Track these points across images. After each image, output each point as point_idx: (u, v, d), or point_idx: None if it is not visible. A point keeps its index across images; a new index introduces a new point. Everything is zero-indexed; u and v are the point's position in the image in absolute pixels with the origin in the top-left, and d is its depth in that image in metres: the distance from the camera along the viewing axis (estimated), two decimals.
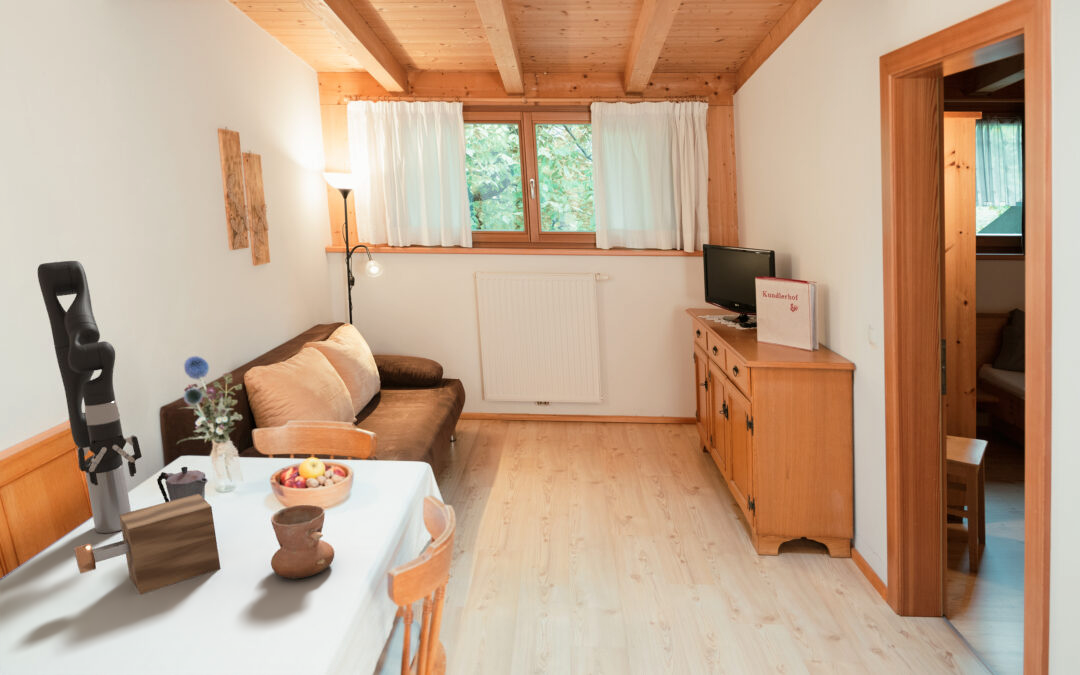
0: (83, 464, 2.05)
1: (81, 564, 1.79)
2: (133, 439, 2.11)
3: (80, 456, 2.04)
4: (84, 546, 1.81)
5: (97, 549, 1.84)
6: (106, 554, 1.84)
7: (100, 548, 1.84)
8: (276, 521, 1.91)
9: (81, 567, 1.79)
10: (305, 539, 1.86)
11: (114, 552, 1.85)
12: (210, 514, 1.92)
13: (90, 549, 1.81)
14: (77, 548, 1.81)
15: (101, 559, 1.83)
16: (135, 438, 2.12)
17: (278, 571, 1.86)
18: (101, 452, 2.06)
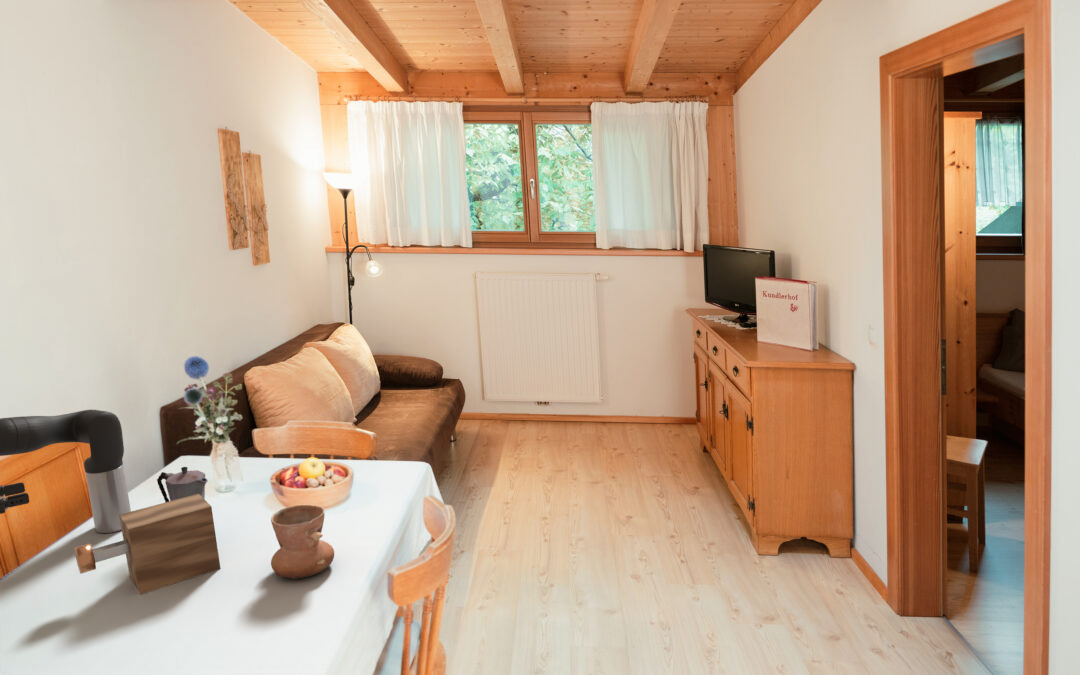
0: None
1: (81, 564, 1.79)
2: None
3: None
4: (84, 546, 1.81)
5: (97, 549, 1.84)
6: (106, 554, 1.84)
7: (100, 548, 1.84)
8: (276, 521, 1.91)
9: (81, 567, 1.79)
10: (305, 539, 1.86)
11: (114, 552, 1.85)
12: (210, 514, 1.92)
13: (90, 549, 1.81)
14: (77, 548, 1.81)
15: (101, 559, 1.83)
16: None
17: (278, 571, 1.86)
18: None
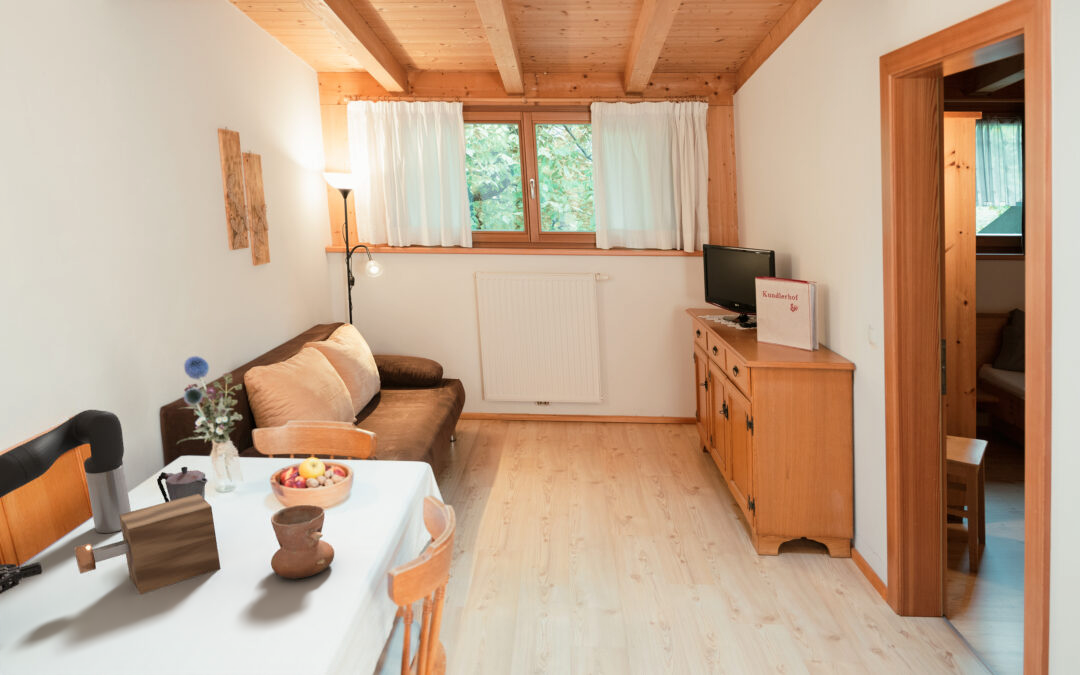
0: None
1: (81, 564, 1.79)
2: None
3: None
4: (84, 546, 1.81)
5: (97, 549, 1.84)
6: (106, 554, 1.84)
7: (100, 548, 1.84)
8: (276, 521, 1.91)
9: (81, 567, 1.79)
10: (305, 539, 1.86)
11: (114, 552, 1.85)
12: (210, 514, 1.92)
13: (90, 549, 1.81)
14: (77, 548, 1.81)
15: (101, 559, 1.83)
16: None
17: (278, 571, 1.86)
18: None
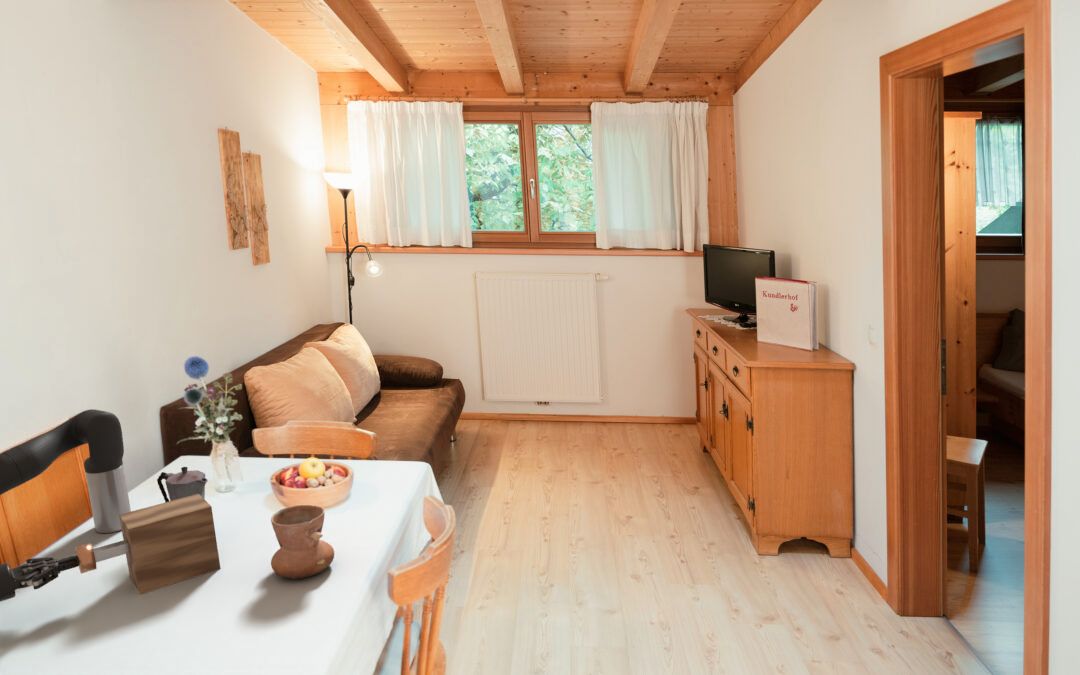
0: None
1: (82, 564, 1.79)
2: None
3: None
4: (85, 546, 1.82)
5: (98, 549, 1.84)
6: (107, 554, 1.84)
7: (100, 548, 1.84)
8: (276, 521, 1.91)
9: (82, 567, 1.79)
10: (305, 539, 1.86)
11: (114, 552, 1.85)
12: (210, 514, 1.92)
13: (91, 549, 1.81)
14: (78, 548, 1.81)
15: (102, 559, 1.83)
16: (37, 588, 1.72)
17: (278, 571, 1.86)
18: None
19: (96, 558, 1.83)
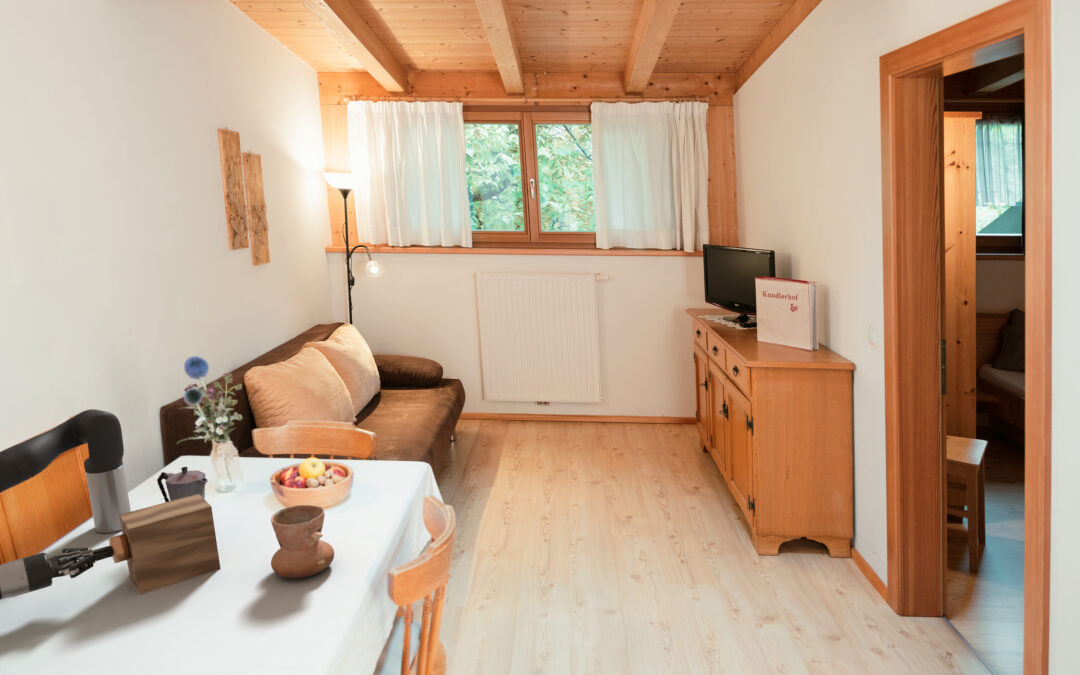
0: None
1: (116, 554, 1.83)
2: None
3: None
4: (119, 536, 1.86)
5: None
6: None
7: None
8: (276, 521, 1.91)
9: (116, 557, 1.83)
10: (305, 539, 1.86)
11: None
12: (210, 514, 1.92)
13: (125, 539, 1.85)
14: (112, 538, 1.85)
15: None
16: None
17: (278, 571, 1.86)
18: None
19: None
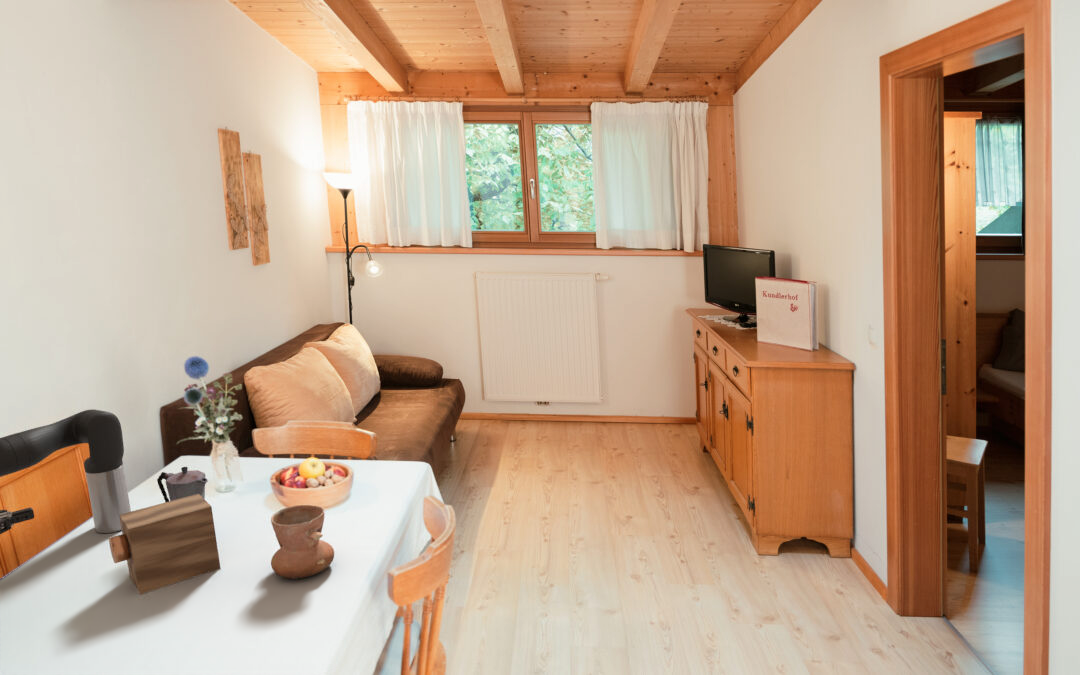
0: None
1: (116, 554, 1.83)
2: None
3: None
4: (118, 536, 1.86)
5: None
6: None
7: None
8: (276, 521, 1.91)
9: (116, 557, 1.83)
10: (305, 539, 1.86)
11: None
12: (210, 514, 1.92)
13: (124, 539, 1.85)
14: (112, 538, 1.85)
15: None
16: None
17: (278, 571, 1.86)
18: None
19: None
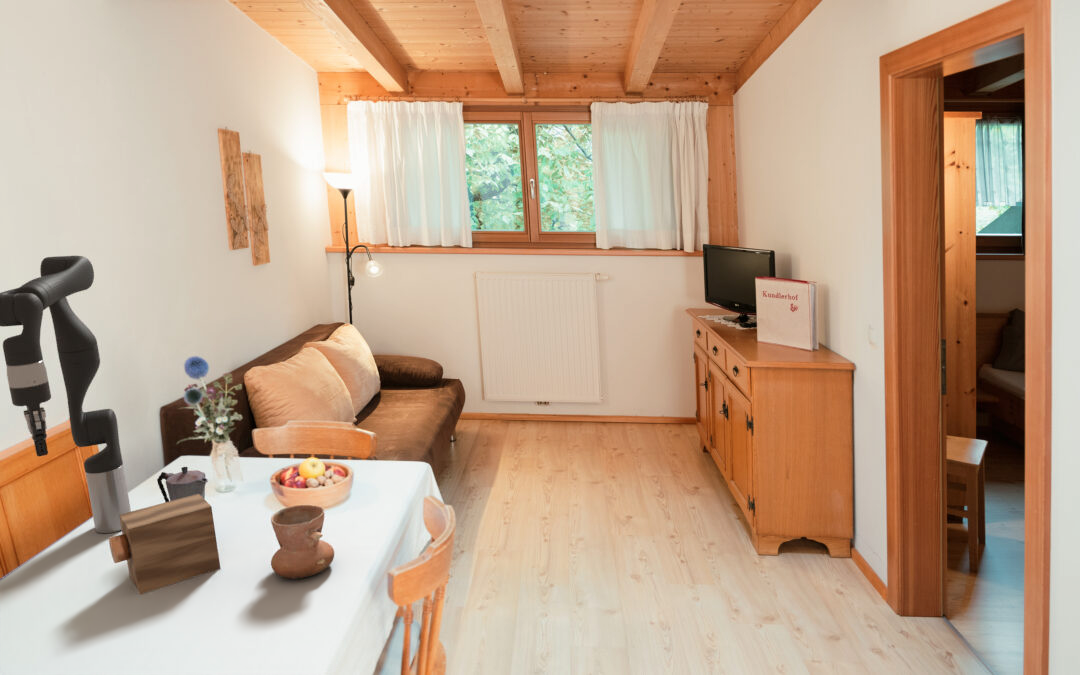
0: None
1: (116, 554, 1.83)
2: None
3: None
4: (118, 536, 1.86)
5: None
6: None
7: None
8: (276, 521, 1.91)
9: (116, 557, 1.83)
10: (305, 539, 1.86)
11: None
12: (210, 514, 1.92)
13: (124, 539, 1.85)
14: (112, 538, 1.85)
15: None
16: (31, 425, 1.78)
17: (278, 571, 1.86)
18: None
19: None
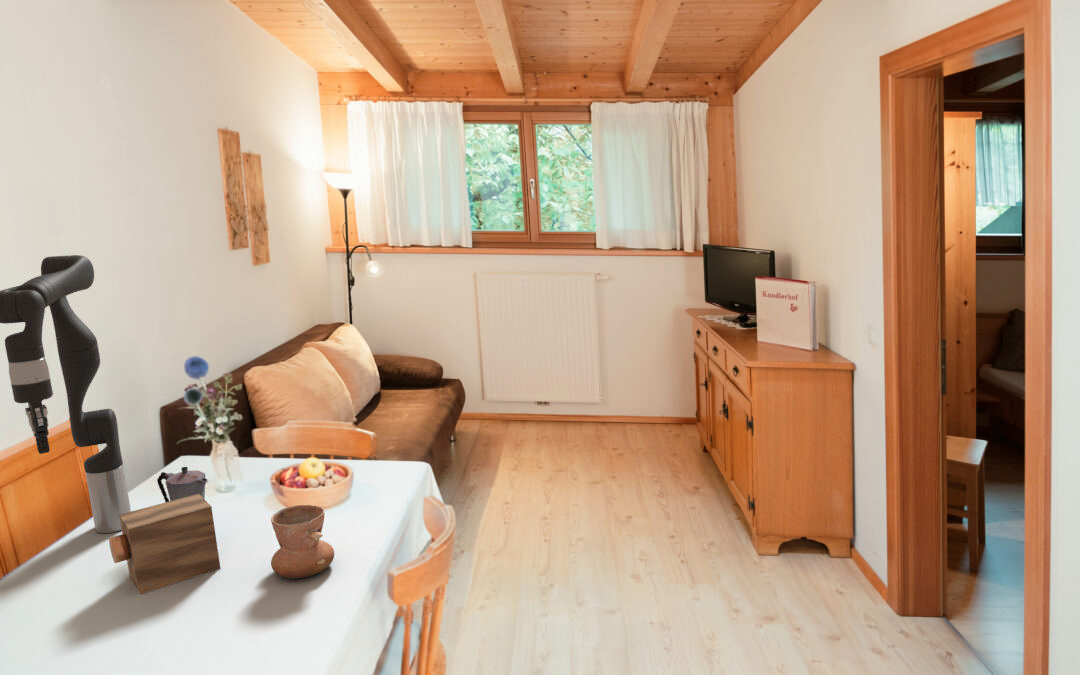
0: None
1: (116, 554, 1.83)
2: None
3: None
4: (118, 536, 1.86)
5: None
6: None
7: None
8: (276, 521, 1.91)
9: (116, 557, 1.83)
10: (305, 539, 1.86)
11: None
12: (210, 514, 1.92)
13: (124, 539, 1.85)
14: (112, 538, 1.85)
15: None
16: (33, 422, 1.78)
17: (278, 571, 1.86)
18: (26, 414, 1.83)
19: None
